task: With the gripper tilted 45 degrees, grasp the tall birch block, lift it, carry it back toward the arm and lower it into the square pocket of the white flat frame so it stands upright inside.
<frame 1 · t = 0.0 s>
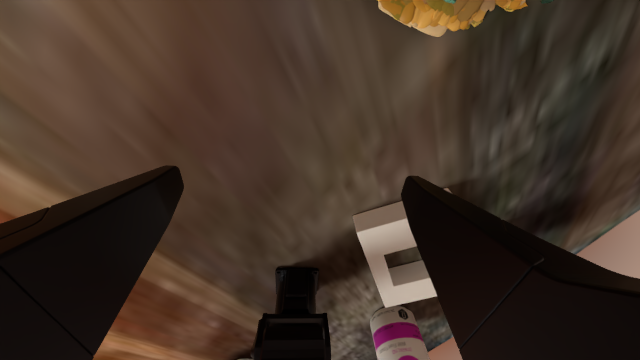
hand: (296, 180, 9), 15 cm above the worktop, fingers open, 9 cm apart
white flat frame: (408, 247, 34), on the worktop
supplement can: (390, 314, 44), on the worktop
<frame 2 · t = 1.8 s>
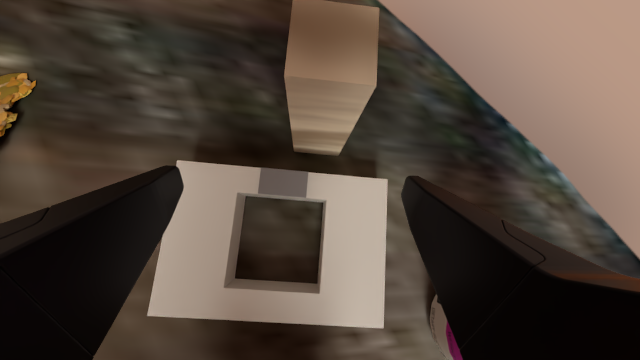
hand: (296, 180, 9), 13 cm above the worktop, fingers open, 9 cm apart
block: (317, 132, 24), on the worktop
white flat frame: (280, 238, 22), on the worktop
supplement can: (466, 316, 22), on the worktop
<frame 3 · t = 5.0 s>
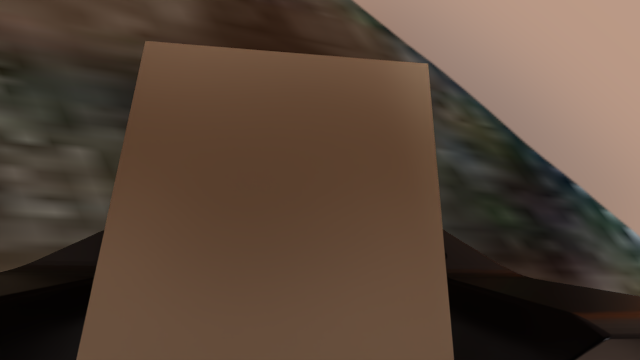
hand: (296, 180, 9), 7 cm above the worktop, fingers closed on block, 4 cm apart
block: (297, 222, 15), on the worktop, touching gripper
when the fingers open (8 cm above the worktop, at t = 8.5 s): block drops 1 cm, resting in white flat frame.
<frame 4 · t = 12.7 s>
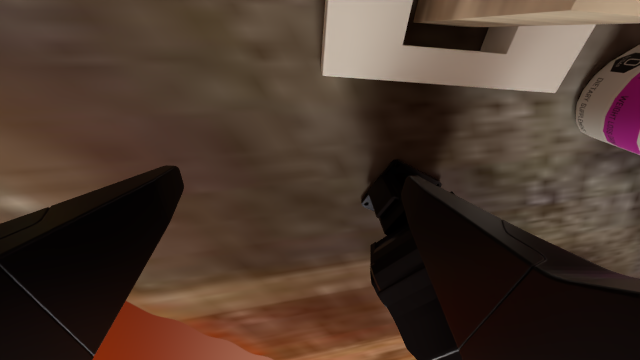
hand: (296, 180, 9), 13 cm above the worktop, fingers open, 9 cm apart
supplement can: (616, 90, 21), on the worktop
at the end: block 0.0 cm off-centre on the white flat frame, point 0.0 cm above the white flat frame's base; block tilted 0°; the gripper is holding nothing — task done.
